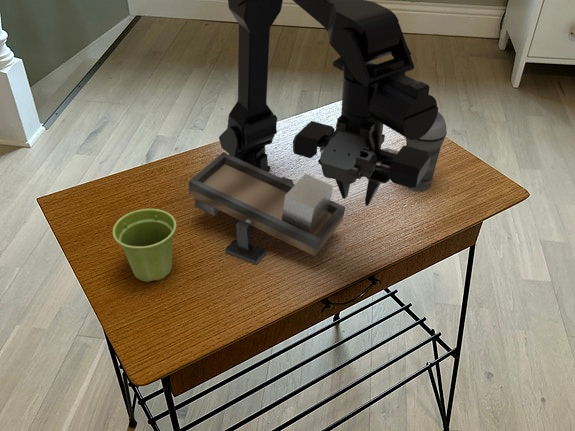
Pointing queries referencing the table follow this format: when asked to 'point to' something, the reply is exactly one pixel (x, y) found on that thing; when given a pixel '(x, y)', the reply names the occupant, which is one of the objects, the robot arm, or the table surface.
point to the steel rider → (307, 203)
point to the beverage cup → (430, 149)
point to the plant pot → (147, 242)
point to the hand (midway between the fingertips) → (356, 200)
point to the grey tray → (257, 201)
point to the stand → (246, 243)
